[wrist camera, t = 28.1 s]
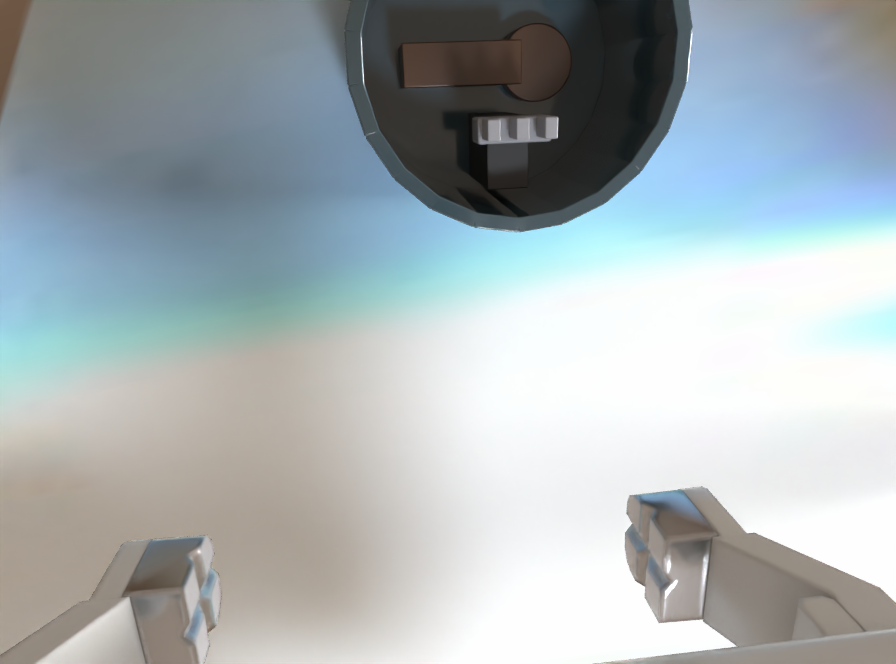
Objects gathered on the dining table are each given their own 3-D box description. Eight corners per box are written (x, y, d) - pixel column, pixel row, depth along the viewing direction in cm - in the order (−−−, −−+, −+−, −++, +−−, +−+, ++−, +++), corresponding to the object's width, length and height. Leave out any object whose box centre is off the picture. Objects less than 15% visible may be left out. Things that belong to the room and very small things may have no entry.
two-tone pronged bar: (516, 111, 32) (516, 173, 33) (456, 113, 32) (458, 176, 33) (562, 116, 24) (560, 196, 25) (483, 119, 24) (484, 201, 25)
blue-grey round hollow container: (359, 204, 33) (357, 238, 25) (342, -90, 29) (332, -160, 21) (602, 196, 35) (672, 226, 27) (621, -86, 30) (712, -150, 22)
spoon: (401, 106, 31) (405, 107, 29) (397, 28, 30) (400, 22, 27) (564, 100, 32) (582, 100, 29) (565, 24, 31) (585, 17, 28)
